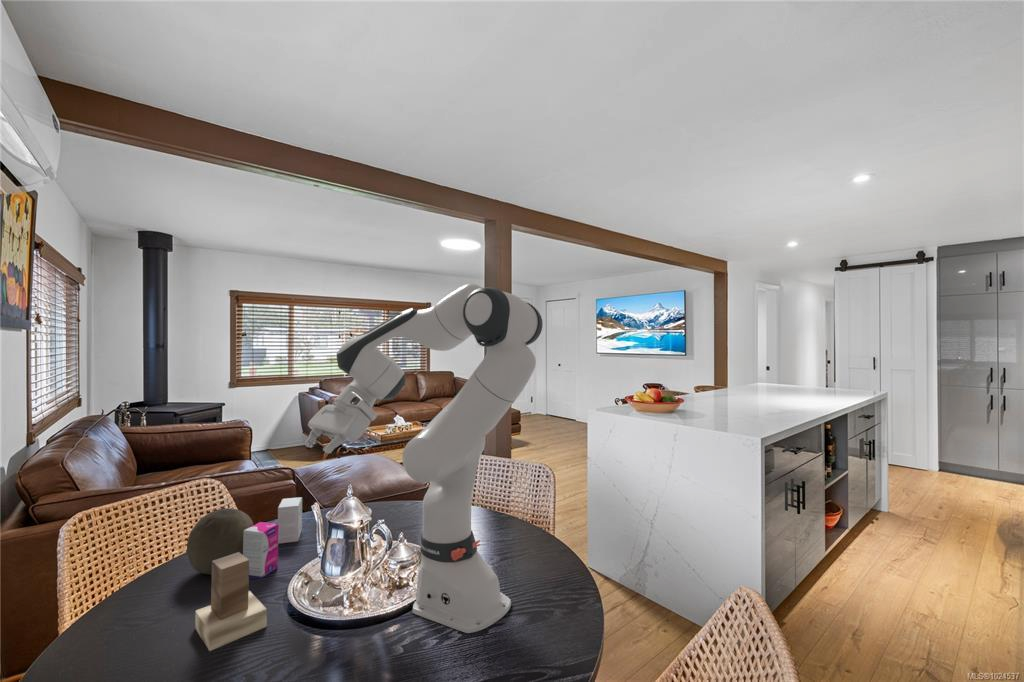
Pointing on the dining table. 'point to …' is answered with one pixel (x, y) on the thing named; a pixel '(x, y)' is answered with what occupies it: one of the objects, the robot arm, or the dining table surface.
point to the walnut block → (229, 585)
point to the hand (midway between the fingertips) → (316, 448)
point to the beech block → (230, 623)
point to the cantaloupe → (216, 537)
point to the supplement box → (261, 548)
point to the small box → (290, 520)
